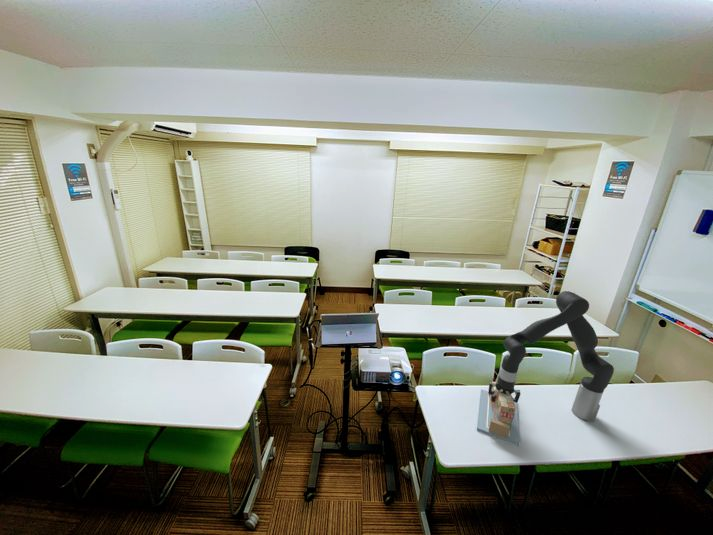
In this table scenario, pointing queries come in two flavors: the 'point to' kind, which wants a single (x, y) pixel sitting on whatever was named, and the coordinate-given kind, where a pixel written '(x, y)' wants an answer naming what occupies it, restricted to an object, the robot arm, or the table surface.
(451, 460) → the table surface
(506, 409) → the stack of blocks
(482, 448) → the table surface
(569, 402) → the table surface
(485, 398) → the board
